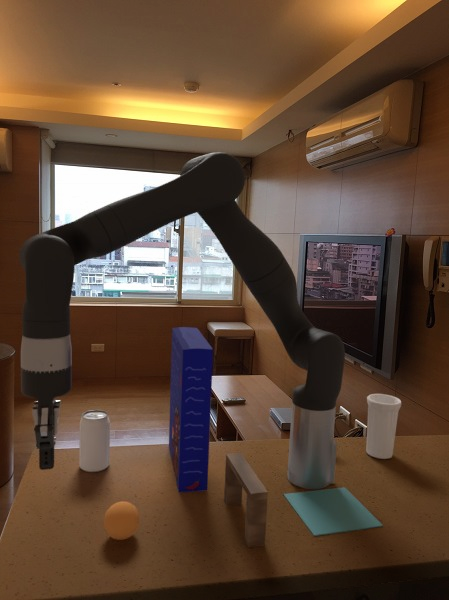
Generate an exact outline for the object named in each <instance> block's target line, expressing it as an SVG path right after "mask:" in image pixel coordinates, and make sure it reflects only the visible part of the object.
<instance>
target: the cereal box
mask: <svg viewBox="0 0 449 600" xmlns="http://www.w3.org/2000/svg"><path fill="white" fill-rule="evenodd" d="M171 330H172V331H171V357H170V362H171V364H170V391H169V392H170V393H169V394H170V395H169V397H170V398H169V425H168V426H169V427H168V428H169V429H168V450H169V454H170V458H171V462H172V463H171V464H172V469H173V472H174V478H175V482H176V487H177V492H178V493H190V492H205V491H208V484H209V462H210V461H209V460H210V459H209V457H210V455H209V454H210V437H211V436H210V435H211V434H210V433H211V432H210V431H211V411H212V410H211V407H212V386H213V385H212V384H213V382H212V381H213V380H212V379H213V361H214V360H213V359H214V358H213V357H214V349H213V347H212V346H211V345H210V343H209V342H208V340H207V339H206V338H205V336H203V334H202V332H201V331H200V329H198V328H197V327H187V326H181V327H180V326H179V327H172V328H171Z"/></svg>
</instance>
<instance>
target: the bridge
mask: <svg viewBox="0 0 449 600" xmlns="http://www.w3.org/2000/svg"><path fill="white" fill-rule="evenodd" d="M224 472H225V474H224V478H225V479H224V495H223V501H224V503H225V505H226V506H227V507H229V506H237V505H239V506H240V505H242V503H243V501H242V500H243V490H244V492H245V494H246V507H245V508H246V509H245V522H244V523H245V525H244V526H245V527H244V542H245V544H246V546H247V548H255V547H261V546H266V530H267V529H266V528H267V516H268V515H267V514H268V499H269V498H268V495H269V492H268V489H266V487H265V485H264V484H263V483H262V482H261V480H260V479H259V476H258V475H257V474H256V473H255V471H254V469H253V468H252V467H251V465H250V464H249V462H248V461H247V460H246V459H245V457H244V455H243V453H242V452H235V453H226V454H225V471H224Z"/></svg>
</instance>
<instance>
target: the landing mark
mask: <svg viewBox="0 0 449 600" xmlns="http://www.w3.org/2000/svg"><path fill="white" fill-rule="evenodd" d="M283 496H284V498H285V500H287V502H288V503H289V505H290V506H291V507H292V509H293V510H294V511H295V513H296V514H297V515H298V516H299V518H300V519H301V520H302V522H303V524H304V525H305V526H306V528H307V529H308V530H309V531H310V533H311V534H312V535H313V537H318V536H325V535H332V534H339V533H346V532H353V531H361V530H368V529H374V528H381V527H384V525H383V524H382V523H381V522H380V521H379V520H378V519H377V518H376V517H375V515H373V514H372V513H371V512H370V511H369V510H368V509H367V508H366V507H365V506H364V505H363V504H362V503H361V502H360V501H359V500H358V499H357V498H356V497H355V496H354V495H353V494H352V493H351V492H350V491H349V490H348V489H347V488H346V487H344V486H343V487H336V488H326V489H325V488H323V489H315V490H309V491H301V492H291V493H283Z"/></svg>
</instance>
